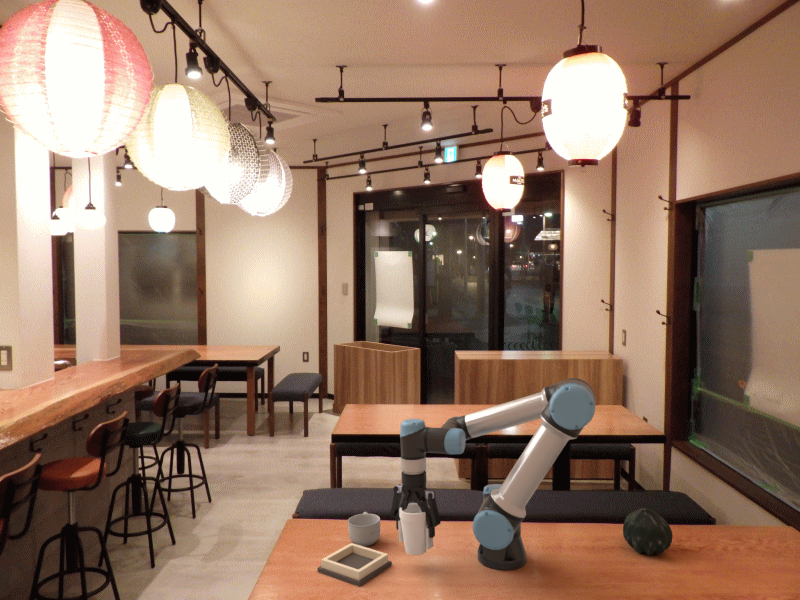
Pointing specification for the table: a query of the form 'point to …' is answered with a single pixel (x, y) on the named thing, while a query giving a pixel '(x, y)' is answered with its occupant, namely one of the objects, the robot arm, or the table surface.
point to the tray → (354, 564)
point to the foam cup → (413, 529)
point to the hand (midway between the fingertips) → (415, 544)
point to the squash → (647, 532)
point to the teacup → (364, 529)
